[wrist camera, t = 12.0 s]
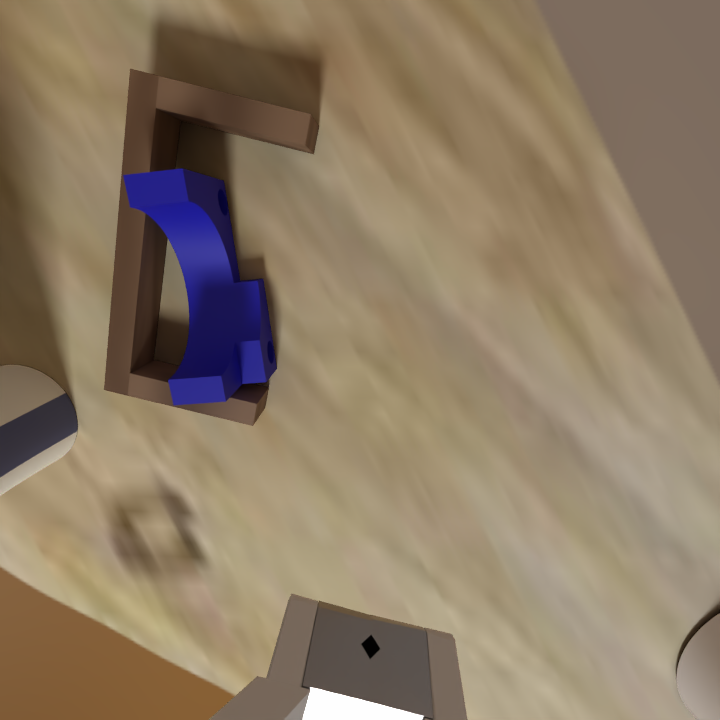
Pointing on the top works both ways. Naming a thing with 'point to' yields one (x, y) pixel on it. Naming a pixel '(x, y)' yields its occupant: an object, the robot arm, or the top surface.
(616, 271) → the top surface
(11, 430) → the water bottle
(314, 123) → the bracket
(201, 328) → the cable clip
